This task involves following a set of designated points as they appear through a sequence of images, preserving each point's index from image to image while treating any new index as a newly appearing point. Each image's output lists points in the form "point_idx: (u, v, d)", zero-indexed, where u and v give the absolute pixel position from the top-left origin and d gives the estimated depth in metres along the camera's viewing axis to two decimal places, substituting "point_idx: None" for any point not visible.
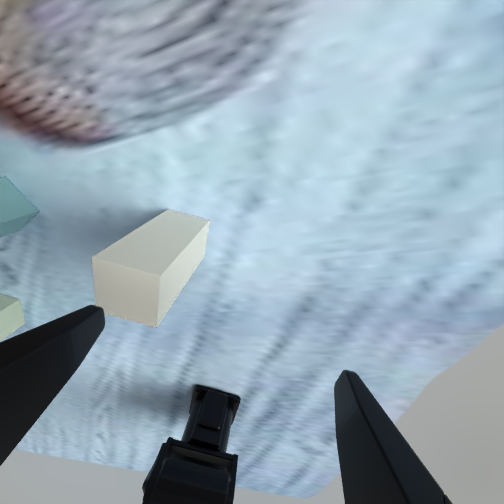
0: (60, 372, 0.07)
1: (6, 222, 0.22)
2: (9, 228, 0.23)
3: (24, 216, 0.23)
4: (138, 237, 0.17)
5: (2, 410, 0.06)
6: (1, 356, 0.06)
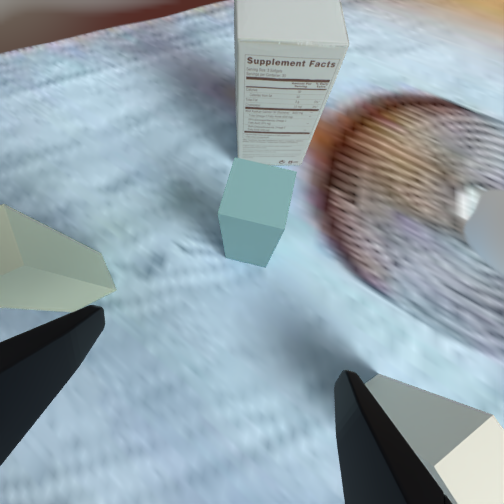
0: (60, 372, 0.07)
1: (266, 258, 0.21)
2: (243, 257, 0.22)
3: (265, 263, 0.22)
4: None
5: (2, 410, 0.06)
6: (1, 356, 0.06)
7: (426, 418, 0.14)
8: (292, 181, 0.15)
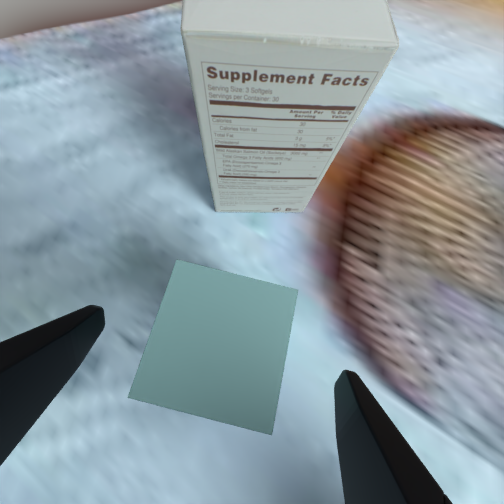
0: (60, 372, 0.07)
1: None
2: None
3: None
4: None
5: (2, 410, 0.06)
6: (1, 356, 0.06)
7: None
8: (289, 312, 0.07)
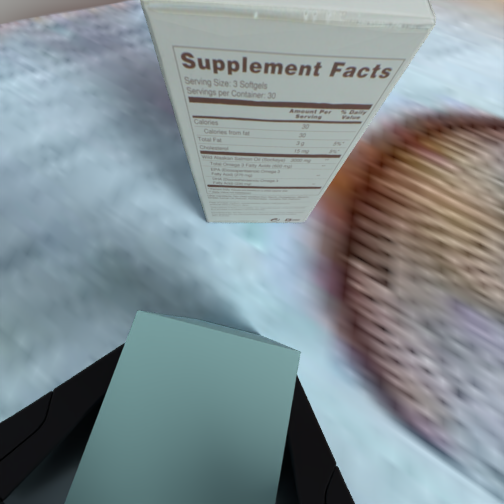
0: None
1: None
2: None
3: None
4: None
5: None
6: (96, 381, 0.06)
7: None
8: (289, 384, 0.05)
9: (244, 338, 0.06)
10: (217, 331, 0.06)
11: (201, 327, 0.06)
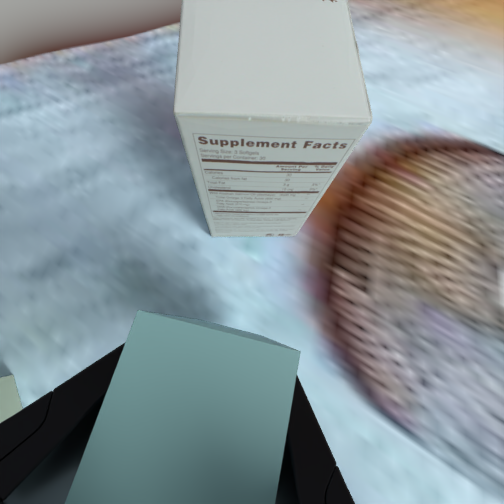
0: None
1: None
2: None
3: None
4: None
5: None
6: (96, 381, 0.06)
7: None
8: (289, 384, 0.05)
9: (244, 338, 0.06)
10: (217, 331, 0.06)
11: (201, 327, 0.06)
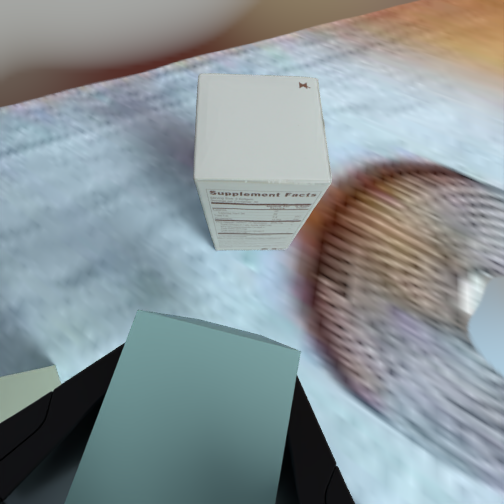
0: None
1: None
2: None
3: None
4: None
5: None
6: (96, 381, 0.06)
7: None
8: (289, 384, 0.05)
9: (244, 338, 0.06)
10: (217, 331, 0.06)
11: (201, 327, 0.06)
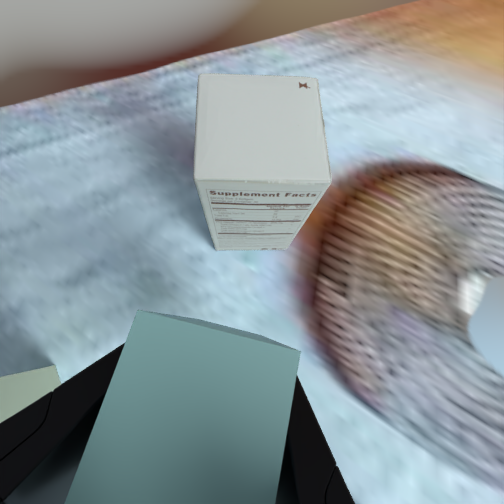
0: None
1: None
2: None
3: None
4: None
5: None
6: (96, 381, 0.06)
7: None
8: (289, 384, 0.05)
9: (244, 338, 0.06)
10: (217, 331, 0.06)
11: (201, 327, 0.06)
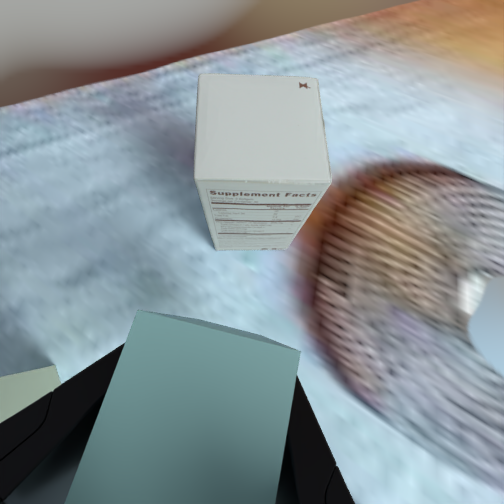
0: None
1: None
2: None
3: None
4: None
5: None
6: (96, 381, 0.06)
7: None
8: (289, 384, 0.05)
9: (244, 338, 0.06)
10: (217, 331, 0.06)
11: (201, 327, 0.06)
